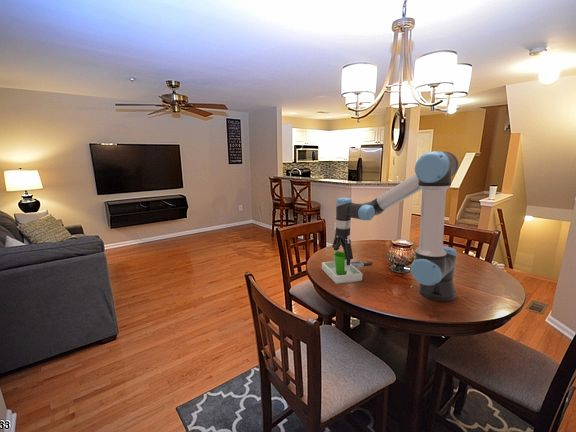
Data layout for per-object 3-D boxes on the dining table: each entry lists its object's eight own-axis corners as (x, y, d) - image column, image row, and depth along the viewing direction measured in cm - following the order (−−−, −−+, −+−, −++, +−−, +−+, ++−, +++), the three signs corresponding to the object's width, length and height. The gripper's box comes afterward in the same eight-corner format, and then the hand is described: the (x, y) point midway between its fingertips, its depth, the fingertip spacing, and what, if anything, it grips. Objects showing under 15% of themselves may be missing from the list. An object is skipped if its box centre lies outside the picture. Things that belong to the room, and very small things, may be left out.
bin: (362, 280, 146) (362, 273, 145) (335, 284, 142) (336, 276, 142) (345, 266, 165) (345, 260, 164) (321, 269, 161) (321, 262, 160)
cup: (345, 278, 147) (346, 258, 145) (329, 274, 152) (330, 254, 150) (352, 273, 154) (353, 253, 152) (337, 269, 159) (338, 250, 157)
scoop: (369, 263, 170) (369, 259, 170) (373, 266, 166) (374, 262, 165) (350, 265, 167) (350, 261, 167) (354, 268, 162) (354, 264, 162)
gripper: (361, 233, 137) (359, 274, 141) (339, 221, 161) (338, 257, 165) (347, 234, 135) (345, 275, 140) (327, 222, 159) (326, 258, 163)
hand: (341, 265), depth 152 cm, fingers open, 13 cm apart
